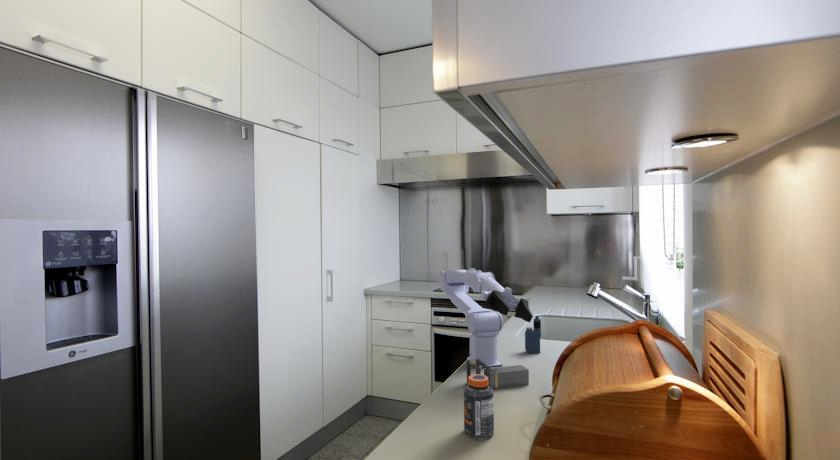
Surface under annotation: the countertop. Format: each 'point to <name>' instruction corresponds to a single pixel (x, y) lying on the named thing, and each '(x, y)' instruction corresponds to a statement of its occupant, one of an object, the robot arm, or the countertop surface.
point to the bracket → (479, 362)
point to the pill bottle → (478, 408)
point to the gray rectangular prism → (508, 376)
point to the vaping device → (533, 337)
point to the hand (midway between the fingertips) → (519, 315)
